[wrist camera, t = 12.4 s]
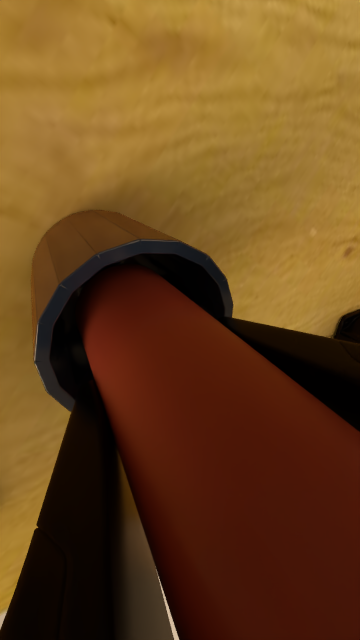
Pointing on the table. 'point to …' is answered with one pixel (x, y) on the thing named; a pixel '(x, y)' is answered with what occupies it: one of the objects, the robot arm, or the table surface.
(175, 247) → the can
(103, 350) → the dowel
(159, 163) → the table surface
